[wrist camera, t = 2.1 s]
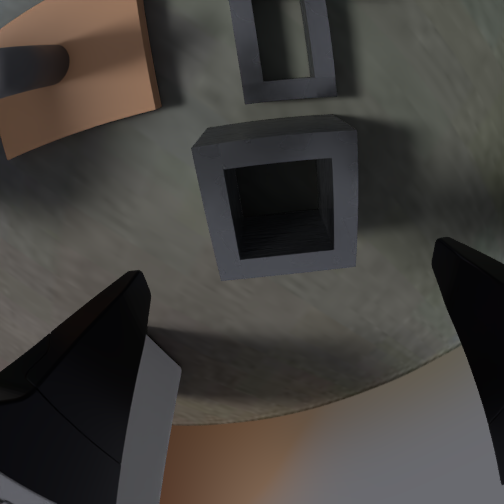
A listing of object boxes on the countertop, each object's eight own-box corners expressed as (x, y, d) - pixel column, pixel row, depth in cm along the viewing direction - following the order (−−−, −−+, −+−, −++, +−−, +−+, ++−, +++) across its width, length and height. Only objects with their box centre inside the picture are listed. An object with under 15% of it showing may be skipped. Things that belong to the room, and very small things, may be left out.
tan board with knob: (138, -35, 9) (86, -69, 5) (161, 106, 14) (115, 129, 9) (-6, 40, 10) (-72, 51, 6) (17, 155, 14) (-43, 192, 10)
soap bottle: (89, 379, 26) (36, 575, 8) (55, 314, 21) (-39, 558, 3) (188, 394, 27) (161, 620, 8) (174, 328, 22) (120, 643, 3)
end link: (332, 114, 14) (356, 130, 10) (337, 223, 17) (355, 266, 14) (207, 127, 14) (191, 148, 11) (228, 235, 17) (221, 280, 14)
